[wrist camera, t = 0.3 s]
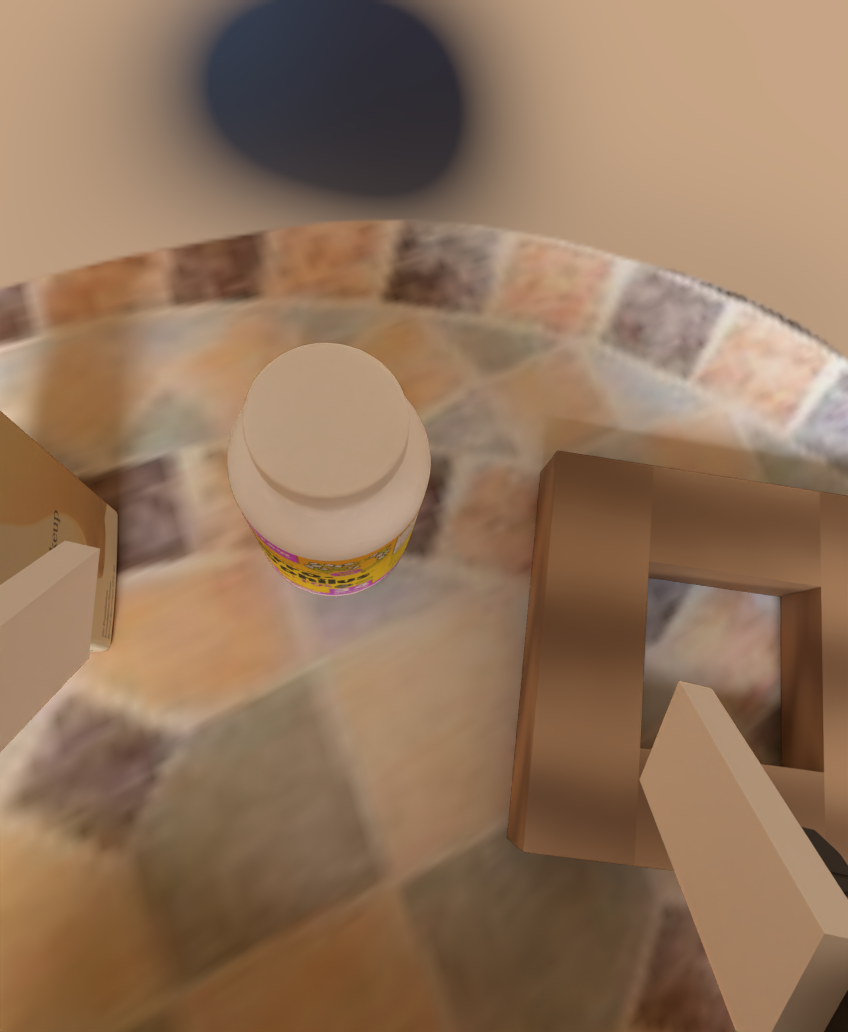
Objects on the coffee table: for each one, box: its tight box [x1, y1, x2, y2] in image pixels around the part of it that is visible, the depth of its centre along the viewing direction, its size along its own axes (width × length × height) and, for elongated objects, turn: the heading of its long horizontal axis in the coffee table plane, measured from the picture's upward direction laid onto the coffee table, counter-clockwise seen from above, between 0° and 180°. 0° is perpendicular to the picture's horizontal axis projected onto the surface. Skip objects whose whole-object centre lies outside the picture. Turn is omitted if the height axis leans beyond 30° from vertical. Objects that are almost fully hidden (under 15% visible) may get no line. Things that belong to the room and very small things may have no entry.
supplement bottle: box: [227, 343, 431, 596], centre depth 26 cm, size 7×7×13 cm
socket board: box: [507, 451, 848, 871], centre depth 31 cm, size 16×16×3 cm
